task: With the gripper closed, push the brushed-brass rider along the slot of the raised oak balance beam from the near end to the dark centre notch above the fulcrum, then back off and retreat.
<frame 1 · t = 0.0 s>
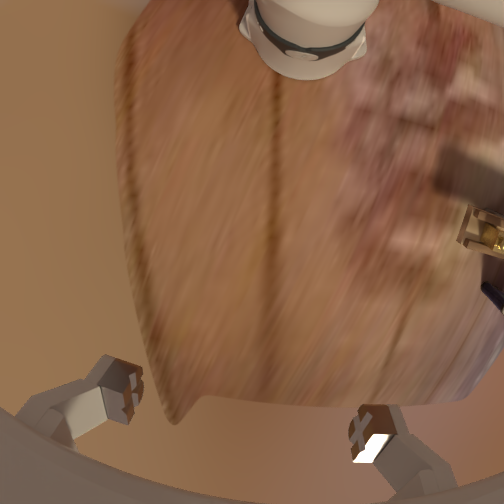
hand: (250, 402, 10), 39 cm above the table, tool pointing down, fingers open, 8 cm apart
beam: (489, 225, 43), on the table
flask: (491, 290, 49), on the table
rider: (496, 239, 34), point 11 cm above the table, slide at -7.0 cm
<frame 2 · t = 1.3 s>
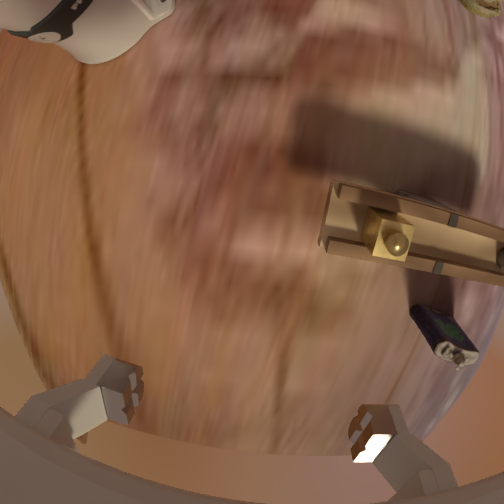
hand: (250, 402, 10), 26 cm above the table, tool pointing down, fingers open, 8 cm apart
beam: (410, 218, 33), on the table
flask: (431, 316, 37), on the table
rider: (388, 234, 23), point 11 cm above the table, slide at -7.0 cm
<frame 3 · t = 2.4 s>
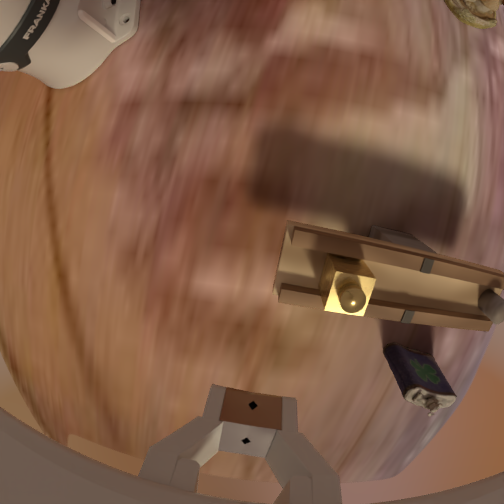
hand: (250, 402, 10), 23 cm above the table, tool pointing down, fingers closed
beam: (384, 255, 31), on the table
flask: (408, 355, 36), on the table
rider: (346, 285, 21), point 11 cm above the table, slide at -7.0 cm
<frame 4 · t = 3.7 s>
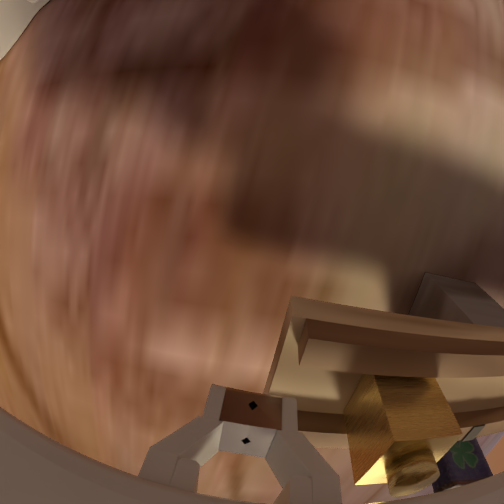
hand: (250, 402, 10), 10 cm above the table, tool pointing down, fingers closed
beam: (436, 315, 19), on the table
flask: (440, 425, 23), on the table
rider: (400, 432, 9), point 11 cm above the table, slide at -7.0 cm
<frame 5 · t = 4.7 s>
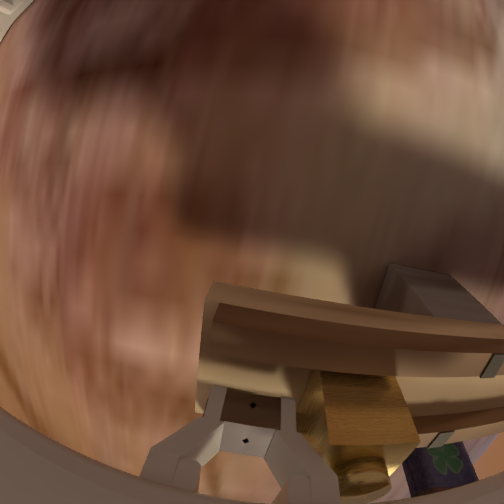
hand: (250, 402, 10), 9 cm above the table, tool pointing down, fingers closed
beam: (406, 310, 18), on the table
flask: (423, 427, 23), on the table
rider: (352, 435, 8), point 11 cm above the table, slide at -6.2 cm, touching gripper
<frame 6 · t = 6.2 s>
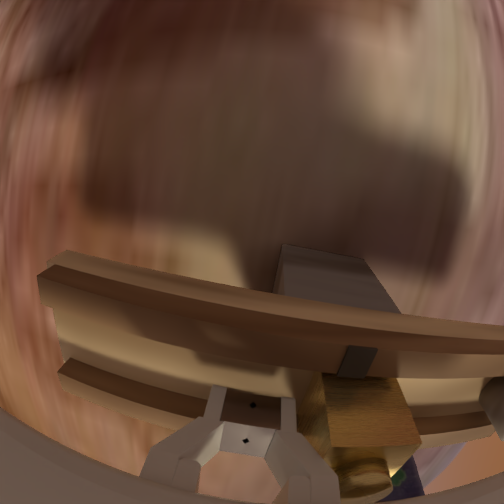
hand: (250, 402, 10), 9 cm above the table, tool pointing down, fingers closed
beam: (312, 297, 18), on the table
flask: (365, 430, 23), on the table
rider: (353, 437, 8), point 11 cm above the table, slide at 0.6 cm, touching gripper
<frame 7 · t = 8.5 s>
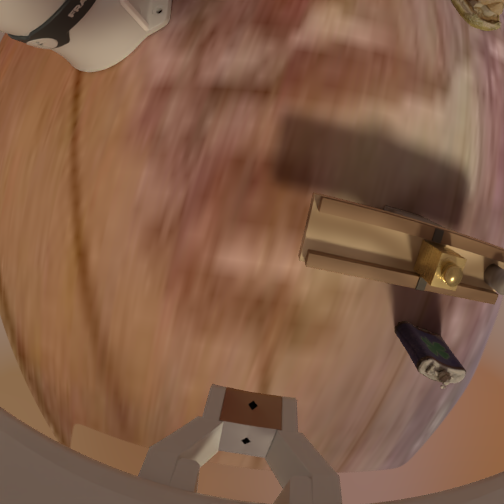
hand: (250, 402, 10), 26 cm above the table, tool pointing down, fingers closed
beam: (396, 234, 33), on the table
flask: (418, 334, 37), on the table
rider: (441, 266, 23), point 11 cm above the table, slide at 0.7 cm
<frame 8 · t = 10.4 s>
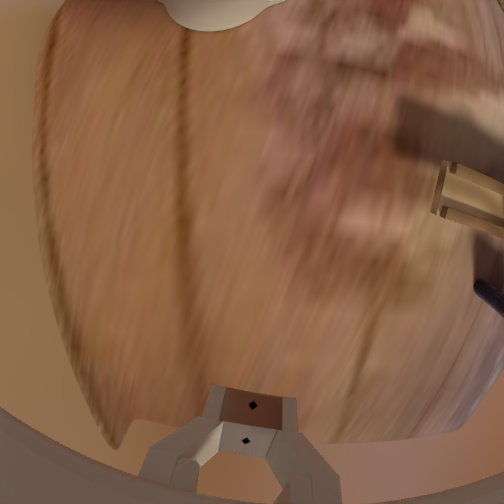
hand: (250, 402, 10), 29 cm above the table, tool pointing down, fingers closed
beam: (478, 202, 34), on the table
flask: (488, 292, 38), on the table
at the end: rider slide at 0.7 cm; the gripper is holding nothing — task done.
